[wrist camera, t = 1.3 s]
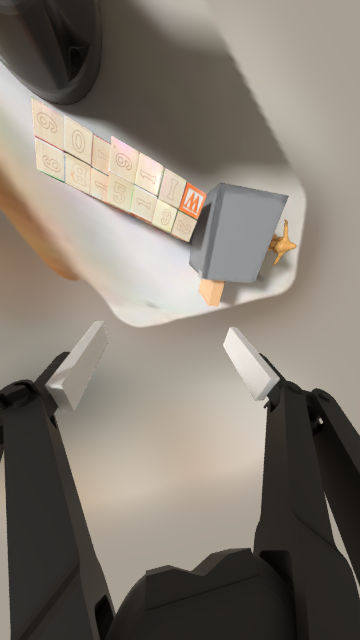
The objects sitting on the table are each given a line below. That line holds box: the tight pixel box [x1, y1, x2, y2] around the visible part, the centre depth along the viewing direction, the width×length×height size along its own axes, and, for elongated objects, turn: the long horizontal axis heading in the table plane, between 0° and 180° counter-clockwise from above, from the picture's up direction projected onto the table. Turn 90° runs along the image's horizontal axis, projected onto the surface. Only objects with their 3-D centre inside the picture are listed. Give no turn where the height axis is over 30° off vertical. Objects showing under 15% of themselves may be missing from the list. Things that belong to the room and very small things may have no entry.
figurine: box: [267, 220, 296, 266], centre depth 29 cm, size 8×6×12 cm
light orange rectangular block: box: [199, 279, 225, 306], centre depth 31 cm, size 14×2×9 cm, turn 174°
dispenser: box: [189, 183, 288, 283], centre depth 27 cm, size 12×10×13 cm
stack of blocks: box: [31, 97, 207, 242], centre depth 22 cm, size 21×6×12 cm, turn 67°
